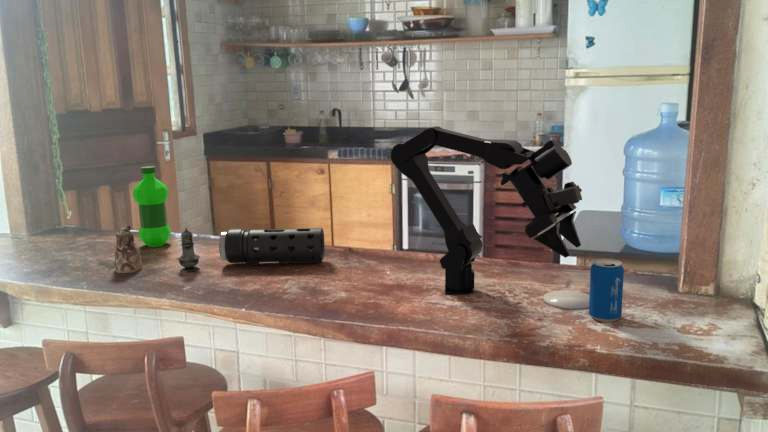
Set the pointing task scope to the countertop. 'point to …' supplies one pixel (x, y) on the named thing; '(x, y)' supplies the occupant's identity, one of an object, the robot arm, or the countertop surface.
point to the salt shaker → (188, 254)
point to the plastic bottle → (152, 209)
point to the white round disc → (567, 299)
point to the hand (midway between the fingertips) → (573, 251)
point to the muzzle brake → (272, 246)
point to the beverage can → (606, 290)
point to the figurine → (126, 252)
